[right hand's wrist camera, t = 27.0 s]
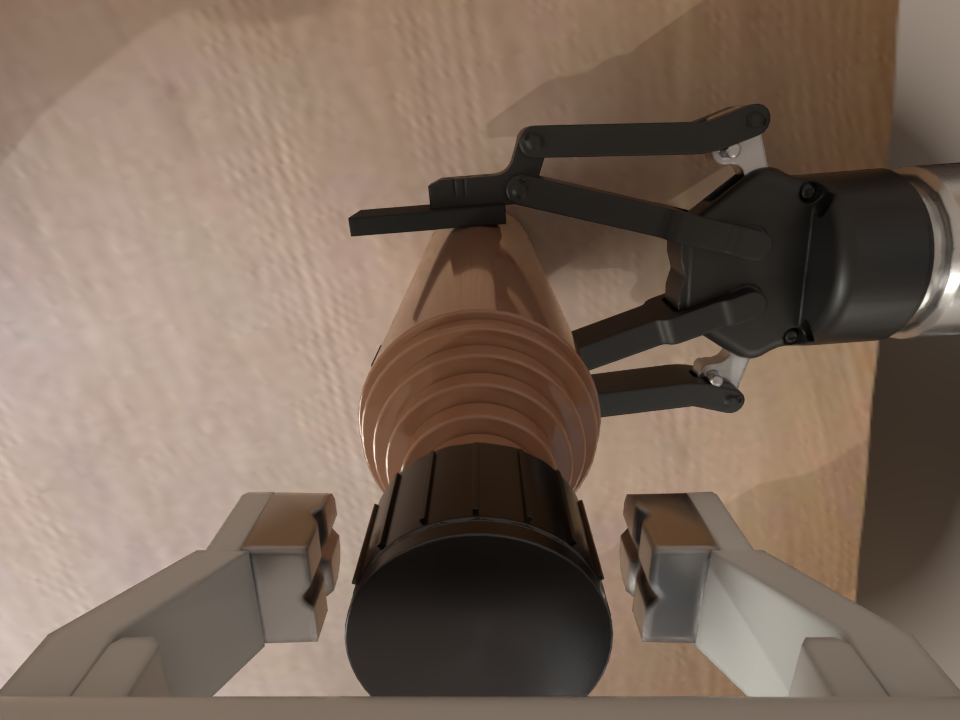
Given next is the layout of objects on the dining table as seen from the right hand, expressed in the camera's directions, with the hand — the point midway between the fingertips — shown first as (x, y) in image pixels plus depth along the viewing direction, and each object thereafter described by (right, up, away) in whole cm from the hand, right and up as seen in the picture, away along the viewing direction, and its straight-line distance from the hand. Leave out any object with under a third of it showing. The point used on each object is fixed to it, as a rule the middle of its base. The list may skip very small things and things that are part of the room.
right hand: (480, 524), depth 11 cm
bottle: (0, +8, +22) cm, 24 cm away
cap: (0, -1, -2) cm, 2 cm away
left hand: (-5, +6, +16) cm, 18 cm away
